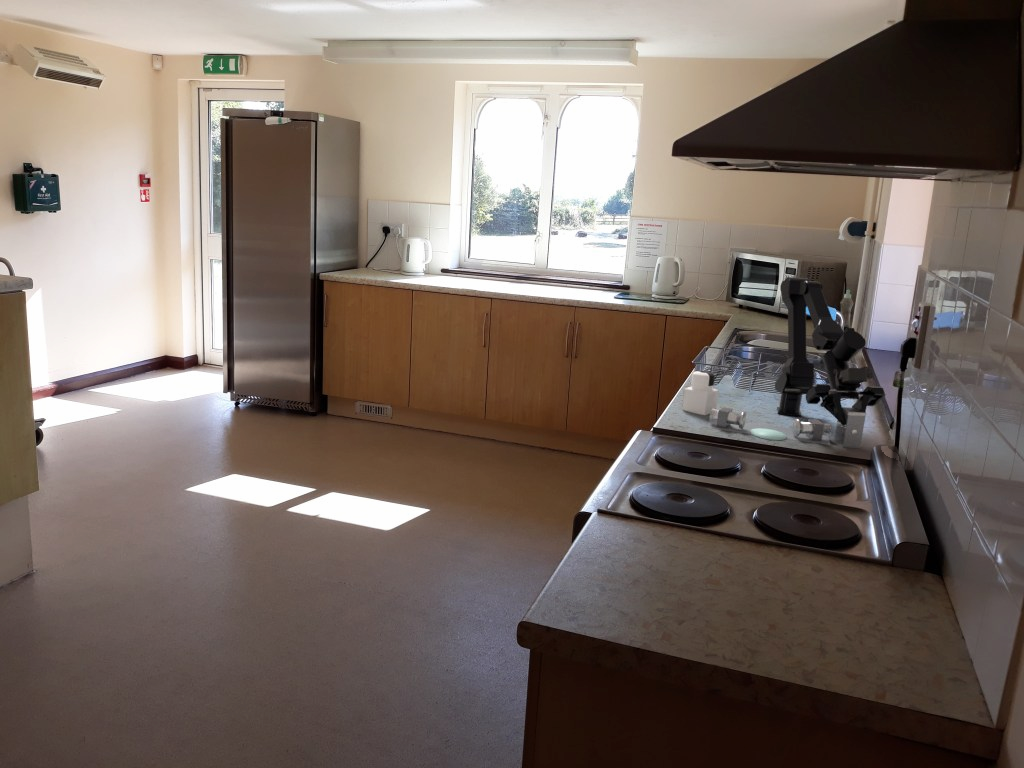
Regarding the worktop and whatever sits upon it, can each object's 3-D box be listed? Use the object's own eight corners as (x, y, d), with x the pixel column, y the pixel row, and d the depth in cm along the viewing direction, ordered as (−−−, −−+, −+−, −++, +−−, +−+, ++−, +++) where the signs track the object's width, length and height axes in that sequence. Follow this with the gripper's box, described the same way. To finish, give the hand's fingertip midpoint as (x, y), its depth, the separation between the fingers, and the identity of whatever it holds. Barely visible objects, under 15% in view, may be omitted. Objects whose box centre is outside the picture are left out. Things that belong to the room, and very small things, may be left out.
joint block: (832, 444, 208) (838, 406, 205) (849, 445, 208) (855, 407, 206) (842, 451, 203) (849, 412, 200) (860, 451, 203) (867, 413, 201)
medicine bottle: (692, 409, 233) (698, 367, 230) (715, 414, 229) (721, 372, 226) (680, 413, 228) (686, 371, 225) (704, 418, 223) (709, 376, 221)
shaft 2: (796, 439, 206) (799, 421, 205) (790, 434, 211) (793, 416, 210) (830, 441, 206) (833, 424, 205) (823, 436, 211) (826, 419, 210)
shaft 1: (744, 427, 213) (747, 410, 212) (740, 431, 210) (742, 414, 208) (712, 421, 217) (715, 404, 216) (707, 425, 214) (709, 407, 212)
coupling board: (708, 421, 221) (709, 416, 221) (825, 436, 214) (826, 432, 214) (707, 434, 208) (707, 429, 208) (831, 452, 201) (832, 447, 201)
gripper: (818, 352, 203) (833, 407, 194) (888, 355, 205) (906, 410, 197) (798, 375, 212) (812, 429, 204) (865, 379, 215) (882, 431, 206)
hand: (853, 424), depth 203 cm, fingers closed on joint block, 4 cm apart
